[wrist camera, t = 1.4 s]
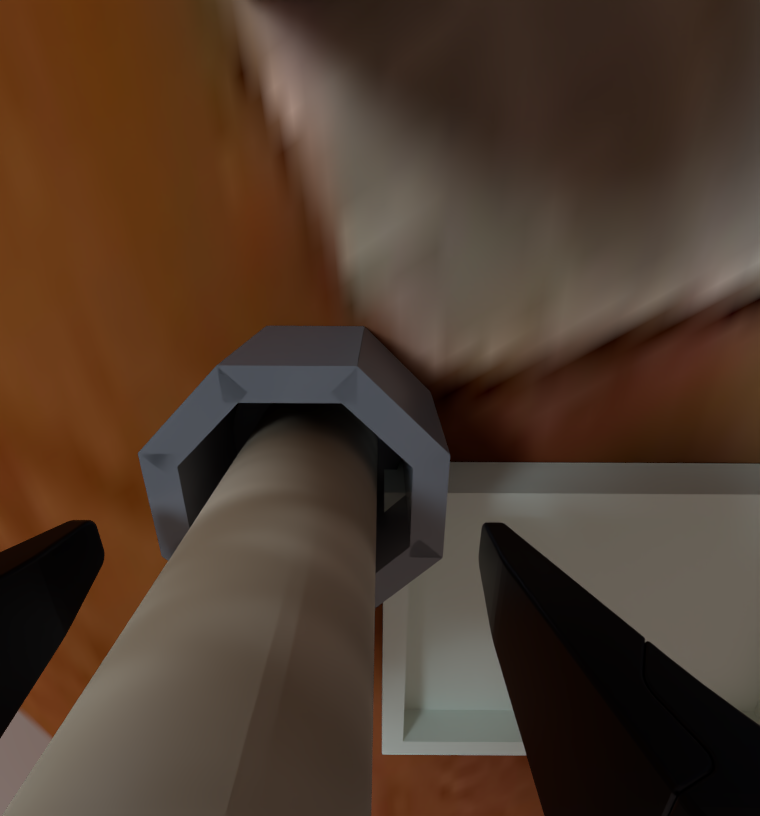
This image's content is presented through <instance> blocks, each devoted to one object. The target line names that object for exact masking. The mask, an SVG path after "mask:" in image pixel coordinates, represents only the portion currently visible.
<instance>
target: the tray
mask: <svg viewBox="0 0 760 816" xmlns="http://www.w3.org/2000/svg"><path fill="white" fill-rule="evenodd" d="M403 496H405V483H404V472H403V462H400V463H399V466H398V468H397V470H387V469H384V512H385V511H386V510H388V509H389V508H390V507H391V506H393V505H394V504H395V503H396V502H397V501H399V500H400V499H401V498H402V497H403ZM485 522H501V523H504V524H506V525H507V526H508V527H509V528H511V529H512V530H513V531H514V532H516V533H517V534H518V535H519V536H520V537H522V538H523V539H524V540H525V541H527V542H528V543H529V544H530V545H532V546H533V547H534V548H535V549H536V550H538V551H539V552H540V553H541V554H543V555H544V556H545V557H546V558H548V559H549V560H550V561H551V562H552V563H554V564H555V565H556V566H557V567H559V568H560V569H561V570H562V571H563V572H565V573H566V574H567V575H568V576H570V577H571V578H572V579H573V580H575V581H576V582H577V583H578V584H579V585H581V586H582V587H583V588H584V589H586V590H587V591H588V592H589V593H591V594H592V595H593V596H594V597H595V598H597V599H598V600H599V601H600V602H602V603H603V604H604V605H605V606H607V607H608V608H609V609H610V610H611V611H613V612H614V613H615V614H616V615H618V616H619V617H620V618H621V619H622V620H624V621H625V622H626V623H627V624H629V625H630V626H631V627H632V628H634V629H635V630H636V631H637V632H638V633H640V634H641V635H642V636H643V637H644V638H645V642H646V641H650V642H651V643H652V644H653V645H655V646H656V647H657V648H658V649H660V650H661V651H662V652H663V653H665V654H666V655H667V656H668V657H669V658H671V659H672V660H673V661H675V662H676V663H677V664H678V665H680V666H681V667H682V668H683V669H685V670H686V671H687V672H689V673H690V674H691V675H692V676H694V677H695V678H696V679H697V680H699V681H700V682H701V683H703V684H704V685H705V686H707V687H708V688H709V689H711V690H712V691H713V692H715V693H716V694H717V695H719V696H720V697H722V698H723V699H724V700H726V701H727V702H728V703H730V704H731V705H732V706H734V707H735V708H737V709H738V710H739V711H741V712H742V713H743V714H745V715H746V716H748V717H749V718H750V719H752V720H753V721H755V722H756V723H757V724H759V725H760V464H727V463H540V462H450V466H449V480H448V493H447V507H446V520H445V534H444V547H443V558H442V559H441V560H439V561H438V562H437V563H435V564H434V565H433V566H431V567H430V568H429V569H427V570H426V571H425V572H423V573H422V574H421V575H419V576H418V577H416V578H415V579H414V580H412V581H411V582H410V583H408V584H407V585H406V586H404V587H403V588H402V589H400V590H399V591H398V592H396V593H395V594H394V595H392V596H391V597H390V598H388V599H387V600H386V601H384V602H383V646H382V754H389V755H526V752H525V748H524V745H523V742H522V738H521V735H520V732H519V728H518V725H517V721H516V718H515V715H514V711H513V708H512V705H511V701H510V698H509V695H508V691H507V688H506V684H505V681H504V678H503V674H502V671H501V668H500V664H499V661H498V657H497V654H496V651H495V647H494V643H493V640H492V635H491V630H490V625H489V619H488V614H487V608H486V602H485V597H484V591H483V586H482V580H481V574H480V569H479V559H478V556H479V546H480V537H481V529H482V525H483V524H484V523H485Z"/></svg>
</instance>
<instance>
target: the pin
mask: <svg viewBox="0 0 760 816" xmlns="http://www.w3.org/2000/svg"><path fill="white" fill-rule="evenodd" d="M377 463H378V436H377V435H376V434H375V433H374V432H373V431H372V430H371V429H369V428H368V427H367V426H366V425H365V424H364V423H363V422H362V421H361V420H360V419H358V418H357V417H356V416H355V415H354V414H353V413H352V412H351V411H350V410H349V409H347V408H346V407H345V406H344V405H343V404H342V403H272V404H271V405H270V406H269V408H268V409H267V411H266V412H265V414H264V415H263V417H262V418H261V420H260V421H259V423H258V424H257V426H256V428H255V429H254V431H253V432H252V434H251V435H250V437H249V438H248V440H247V441H246V443H245V444H244V446H243V447H242V449H241V450H240V452H239V454H238V455H237V457H236V458H235V460H234V461H233V463H232V464H231V466H230V467H229V469H228V470H227V472H226V473H225V475H224V477H223V478H222V480H221V481H220V483H219V484H218V486H217V487H216V489H215V490H214V492H213V493H212V495H211V496H210V498H209V500H208V501H207V503H206V504H205V506H204V507H203V509H202V510H201V512H200V513H199V515H198V516H197V518H196V519H195V521H194V523H193V524H192V526H191V527H190V529H189V530H188V532H187V533H186V535H185V536H184V538H183V539H182V541H181V542H180V544H179V545H178V547H177V549H176V550H175V552H174V553H173V555H172V556H171V558H170V559H169V561H168V562H167V564H166V565H165V567H164V568H163V570H162V572H161V573H160V575H159V576H158V578H157V579H156V581H155V582H154V584H153V585H152V587H151V588H150V590H149V591H148V593H147V595H146V596H145V598H144V599H143V601H142V602H141V604H140V605H139V607H138V608H137V610H136V611H135V613H134V614H133V616H132V618H131V619H130V621H129V622H128V624H127V625H126V627H125V628H124V630H123V631H122V633H121V634H120V636H119V637H118V639H117V641H116V642H115V644H114V645H113V647H112V648H111V650H110V651H109V653H108V654H107V656H106V657H105V659H104V660H103V662H102V663H101V665H100V667H99V668H98V670H97V671H96V673H95V674H94V676H93V677H92V679H91V680H90V682H89V683H88V685H87V686H86V688H85V690H84V691H83V693H82V694H81V696H80V697H79V699H78V700H77V702H76V703H75V705H74V706H73V708H72V709H71V711H70V713H69V714H68V716H67V717H66V719H65V720H64V722H63V723H62V725H61V726H60V728H59V729H58V731H57V732H56V734H55V736H54V737H53V739H52V740H51V742H50V743H49V745H48V746H47V748H46V750H45V751H44V752H43V754H42V756H41V757H40V759H39V760H38V762H37V763H36V765H35V766H34V768H33V769H32V771H31V772H30V774H29V775H28V777H27V779H26V780H25V782H24V783H23V785H22V786H21V788H20V789H19V791H18V792H17V794H16V795H15V797H14V799H13V800H12V802H11V803H10V804H9V806H8V808H7V809H6V811H5V812H4V814H3V815H2V816H371V794H372V739H373V684H374V629H375V573H376V518H377Z"/></svg>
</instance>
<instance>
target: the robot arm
mask: <svg viewBox="0 0 760 816" xmlns="http://www.w3.org/2000/svg"><path fill="white" fill-rule="evenodd" d="M478 559H479V569H480V574H481V580H482V586H483V591H484V597H485V602H486V608H487V614H488V619H489V625H490V630H491V635H492V640H493V643H494V647H495V651H496V654H497V657H498V661H499V664H500V668H501V671H502V674H503V678H504V681H505V684H506V688H507V691H508V695H509V698H510V701H511V705H512V708H513V711H514V715H515V718H516V721H517V725H518V728H519V732H520V735H521V738H522V742H523V745H524V748H525V752H526V755H527V758H528V762H529V765H530V769H531V772H532V775H533V779H534V782H535V785H536V789H537V792H538V795H539V799H540V802H541V806H542V809H543V812H544V816H760V725H759V724H757V723H756V722H755V721H753V720H752V719H750V718H749V717H748V716H746V715H745V714H743V713H742V712H741V711H739V710H738V709H737V708H735V707H734V706H732V705H731V704H730V703H728V702H727V701H726V700H724V699H723V698H722V697H720V696H719V695H717V694H716V693H715V692H713V691H712V690H711V689H709V688H708V687H707V686H705V685H704V684H703V683H701V682H700V681H699V680H697V679H696V678H695V677H694V676H692V675H691V674H690V673H689V672H687V671H686V670H685V669H683V668H682V667H681V666H680V665H678V664H677V663H676V662H675V661H673V660H672V659H671V658H669V657H668V656H667V655H666V654H665V653H663V652H662V651H661V650H660V649H658V648H657V647H656V646H655V645H653V644H652V643H651V642H650V641H646V642H645V638H644V637H643V636H642V635H641V634H640V633H638V632H637V631H636V630H635V629H634V628H632V627H631V626H630V625H629V624H627V623H626V622H625V621H624V620H622V619H621V618H620V617H619V616H618V615H616V614H615V613H614V612H613V611H611V610H610V609H609V608H608V607H607V606H605V605H604V604H603V603H602V602H600V601H599V600H598V599H597V598H595V597H594V596H593V595H592V594H591V593H589V592H588V591H587V590H586V589H584V588H583V587H582V586H581V585H579V584H578V583H577V582H576V581H575V580H573V579H572V578H571V577H570V576H568V575H567V574H566V573H565V572H563V571H562V570H561V569H560V568H559V567H557V566H556V565H555V564H554V563H552V562H551V561H550V560H549V559H548V558H546V557H545V556H544V555H543V554H541V553H540V552H539V551H538V550H536V549H535V548H534V547H533V546H532V545H530V544H529V543H528V542H527V541H525V540H524V539H523V538H522V537H520V536H519V535H518V534H517V533H516V532H514V531H513V530H512V529H511V528H509V527H508V526H507V525H506V524H504V523H501V522H485V523H484V524H483V525H482V529H481V537H480V546H479V556H478ZM103 561H104V549H103V546H102V542H101V539H100V536H99V532H98V529H97V526H96V524H95V523H94V522H93V521H91V520H71V521H68V522H66V523H64V524H61V525H59V526H57V527H55V528H53V529H50V530H48V531H46V532H44V533H42V534H39V535H37V536H35V537H33V538H31V539H28V540H26V541H24V542H22V543H20V544H17V545H15V546H13V547H11V548H9V549H6V550H4V551H2V552H0V738H1V736H2V735H3V733H4V732H5V730H6V729H7V727H8V725H9V724H10V722H11V721H12V719H13V718H14V716H15V714H16V713H17V711H18V710H19V708H20V707H21V705H22V704H23V702H24V700H25V699H26V697H27V696H28V694H29V693H30V691H31V689H32V688H33V686H34V685H35V683H36V682H37V680H38V678H39V677H40V675H41V674H42V672H43V671H44V669H45V667H46V666H47V664H48V663H49V661H50V660H51V658H52V656H53V655H54V653H55V652H56V650H57V649H58V647H59V645H60V644H61V642H62V640H63V639H64V637H65V635H66V634H67V632H68V630H69V628H70V626H71V625H72V623H73V621H74V619H75V617H76V615H77V613H78V611H79V609H80V607H81V605H82V603H83V601H84V599H85V598H86V596H87V594H88V592H89V590H90V588H91V586H92V584H93V582H94V580H95V578H96V576H97V574H98V572H99V570H100V568H101V567H102V564H103Z"/></svg>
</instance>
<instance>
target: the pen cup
mask: <svg viewBox="0 0 760 816" xmlns="http://www.w3.org/2000/svg"><path fill="white" fill-rule="evenodd" d="M237 403H239V405H238V407H237V410H236V407H235V405H236V404H237ZM272 403H342V404H343V405H344V406H345V407H346V408H347V409H349V410H350V411H351V412H352V413H353V414H354V415H355V416H356V417H357V418H358V419H360V420H361V421H362V422H363V423H364V424H365V425H366V426H367V427H368V428H369V429H371V430H372V431H373V432H374V433H375V434H376V435H377V436H378V463H377V518H376V573H375V608H376V607H378V606H379V605H380V604H382V603H383V602H384V601H386V600H387V599H388V598H390V597H391V596H392V595H394V594H395V593H396V592H398V591H399V590H400V589H402V588H403V587H404V586H406V585H407V584H408V583H410V582H411V581H412V580H414V579H415V578H416V577H418V576H419V575H421V574H422V573H423V572H425V571H426V570H427V569H429V568H430V567H431V566H433V565H434V564H435V563H437V562H438V561H439V560H441V559H442V558H443V547H444V534H445V520H446V507H447V493H448V480H449V466H450V453H449V449H448V446H447V443H446V440H445V436H444V433H443V430H442V427H441V424H440V420H439V417H438V414H437V411H436V408H435V404H434V401H433V398H432V395H431V392H430V391H429V390H428V389H427V388H426V387H425V386H424V385H423V384H422V383H421V382H420V381H419V380H418V379H417V378H416V377H415V376H414V375H413V374H412V373H411V372H410V371H409V370H408V369H407V368H406V367H405V366H404V365H403V364H402V363H401V362H400V361H399V360H398V359H397V358H396V357H395V356H394V355H393V354H392V353H391V352H390V351H389V350H388V349H387V348H386V347H385V346H384V345H383V344H382V343H381V342H380V341H379V340H378V339H377V338H376V337H375V336H374V335H373V334H372V333H371V332H370V331H369V330H368V329H367V328H366V327H364V326H266V327H264V328H263V329H262V330H261V331H259V332H258V333H257V334H256V335H254V336H253V337H252V338H251V339H249V340H248V341H247V342H246V343H244V344H243V345H242V346H241V347H239V348H238V349H237V350H236V351H234V352H233V353H232V354H231V355H229V356H228V357H227V358H226V359H224V360H223V361H222V362H221V363H219V364H218V365H217V366H216V367H215V368H214V369H213V370H212V371H211V372H210V373H209V375H208V376H207V377H206V378H205V379H204V380H203V381H202V382H201V383H200V385H199V386H198V387H197V388H196V389H195V390H194V391H193V392H192V394H191V395H190V396H189V397H188V398H187V399H186V400H185V401H184V402H183V404H182V405H181V406H180V407H179V408H178V409H177V410H176V411H175V412H174V414H173V415H172V416H171V417H170V418H169V419H168V420H167V421H166V422H165V424H164V425H163V426H162V427H161V428H160V429H159V430H158V431H157V433H156V434H155V435H154V436H153V437H152V438H151V439H150V440H149V441H148V443H147V444H146V445H145V446H144V447H143V448H142V449H141V450H140V451H139V453H138V456H139V460H140V465H141V469H142V473H143V478H144V482H145V486H146V490H147V495H148V499H149V503H150V507H151V512H152V516H153V520H154V525H155V529H156V533H157V537H158V542H159V546H160V550H161V555H162V557H164V558H165V559H167V560H168V561H169V559H170V558H171V556H172V555H173V553H174V552H175V550H176V549H177V547H178V545H179V544H180V542H181V541H182V539H183V538H184V536H185V535H186V533H187V532H188V530H189V529H190V527H191V526H192V524H193V523H194V521H195V519H196V518H197V516H198V515H199V513H200V512H201V510H202V509H203V507H204V506H205V504H206V503H207V501H208V500H209V498H210V496H211V495H212V493H213V492H214V490H215V489H216V487H217V486H218V484H219V483H220V481H221V480H222V478H223V477H224V475H225V473H226V472H227V470H228V469H229V467H230V466H231V464H232V463H233V461H234V460H235V458H236V457H237V455H238V454H239V452H240V450H241V449H242V447H243V446H244V444H245V443H246V441H247V440H248V438H249V437H250V435H251V434H252V432H253V431H254V429H255V428H256V426H257V424H258V423H259V421H260V420H261V418H262V417H263V415H264V414H265V412H266V411H267V409H268V408H269V406H270V405H271V404H272ZM401 458H402V459H403V472H404V483H405V496H403V497H402V498H401V499H400V500H399V501H397V502H396V503H395V504H394V505H393V506H391V507H390V508H389V509H388V510H386V511H385V512H384V469H387V470H397V468H398V466H399V463H400V461H401Z"/></svg>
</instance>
